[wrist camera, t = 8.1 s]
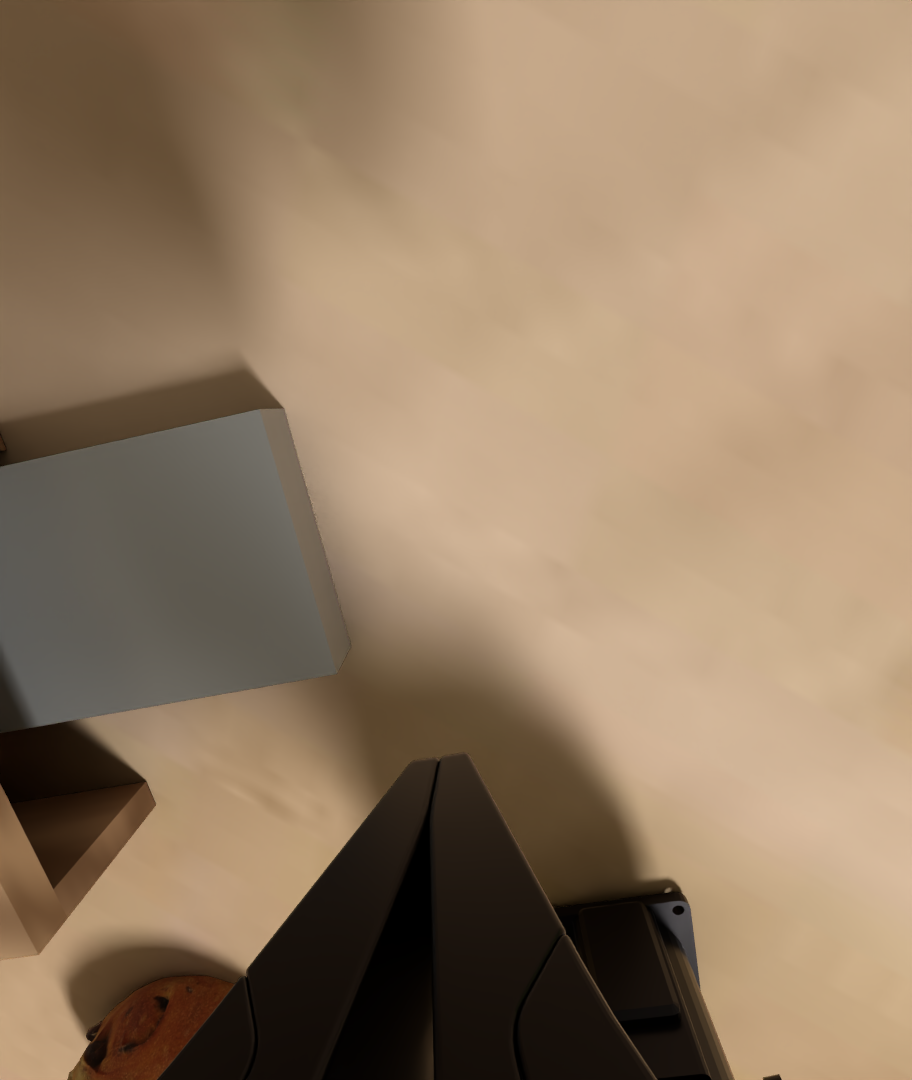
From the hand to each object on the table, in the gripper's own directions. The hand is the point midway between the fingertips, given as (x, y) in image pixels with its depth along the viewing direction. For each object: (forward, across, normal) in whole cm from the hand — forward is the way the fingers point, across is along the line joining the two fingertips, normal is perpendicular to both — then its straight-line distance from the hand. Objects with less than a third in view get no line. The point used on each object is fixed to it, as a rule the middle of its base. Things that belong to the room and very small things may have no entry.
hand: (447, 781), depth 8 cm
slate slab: (+12, +13, -2) cm, 18 cm away
